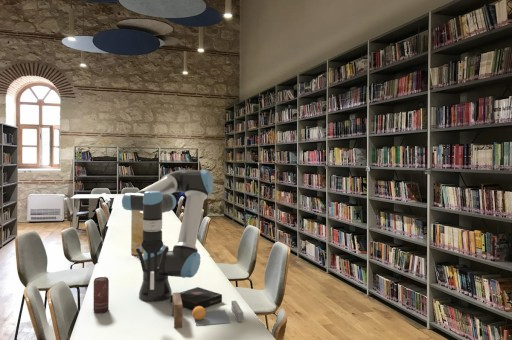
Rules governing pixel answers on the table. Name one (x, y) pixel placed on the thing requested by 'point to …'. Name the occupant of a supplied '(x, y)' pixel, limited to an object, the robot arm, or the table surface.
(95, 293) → the can
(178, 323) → the bridge
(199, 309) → the ball
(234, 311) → the stopper
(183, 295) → the portable cd player
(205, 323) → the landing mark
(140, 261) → the robot arm
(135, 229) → the parchment
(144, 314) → the table surface
